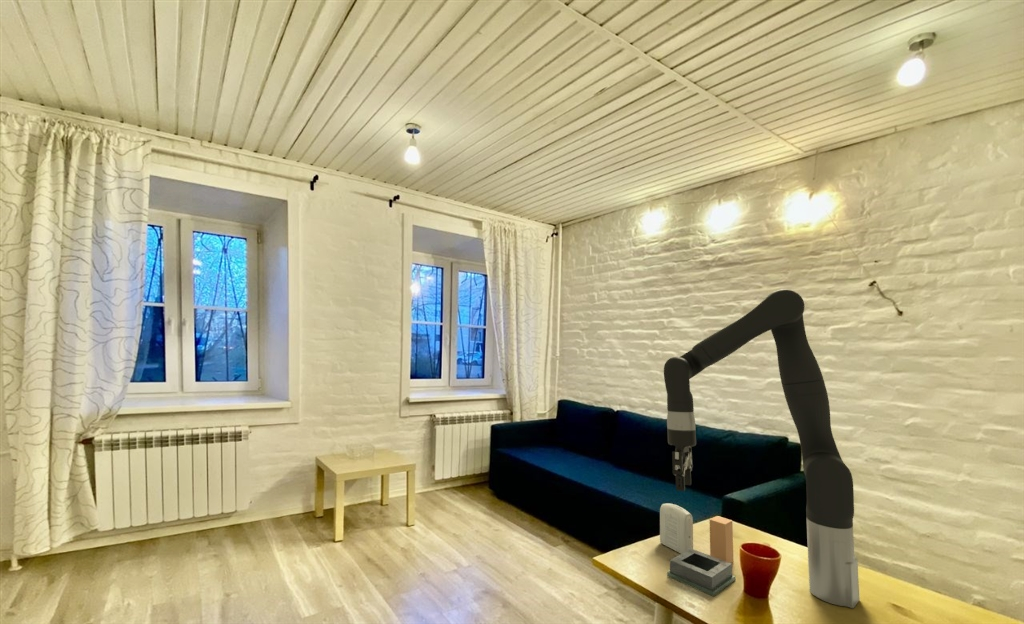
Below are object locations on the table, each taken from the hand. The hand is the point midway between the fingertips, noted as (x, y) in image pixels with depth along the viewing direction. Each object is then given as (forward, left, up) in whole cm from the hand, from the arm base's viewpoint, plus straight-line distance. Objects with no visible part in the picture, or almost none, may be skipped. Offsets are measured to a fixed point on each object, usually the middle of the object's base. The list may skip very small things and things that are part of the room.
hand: (683, 487), depth 121 cm
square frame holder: (-6, +4, -20) cm, 22 cm away
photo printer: (+7, -7, -21) cm, 23 cm away
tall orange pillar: (-5, -10, -20) cm, 23 cm away
